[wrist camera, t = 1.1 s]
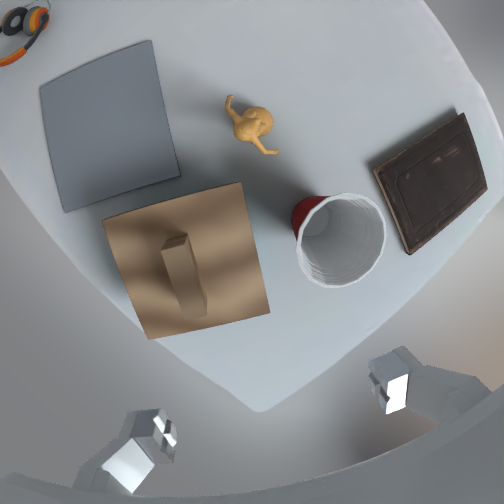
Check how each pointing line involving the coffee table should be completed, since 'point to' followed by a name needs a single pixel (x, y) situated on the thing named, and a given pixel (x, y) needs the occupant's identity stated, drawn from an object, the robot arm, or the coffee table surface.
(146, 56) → the mat
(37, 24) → the headphones
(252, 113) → the figurine
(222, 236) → the lid
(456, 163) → the hardcover book
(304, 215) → the plastic cup
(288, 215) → the coffee table surface
